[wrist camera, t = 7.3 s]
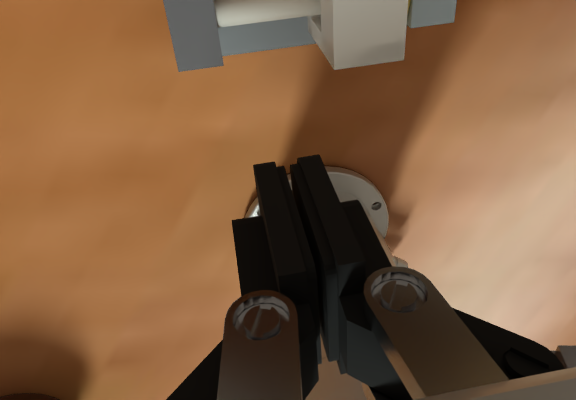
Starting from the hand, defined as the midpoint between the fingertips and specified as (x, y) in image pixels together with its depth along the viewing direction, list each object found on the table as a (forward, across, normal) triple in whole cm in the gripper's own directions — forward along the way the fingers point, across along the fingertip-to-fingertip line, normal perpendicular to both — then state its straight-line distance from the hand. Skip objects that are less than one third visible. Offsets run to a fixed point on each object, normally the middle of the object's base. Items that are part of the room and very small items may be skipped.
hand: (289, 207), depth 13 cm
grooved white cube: (+19, -6, -1) cm, 20 cm away
